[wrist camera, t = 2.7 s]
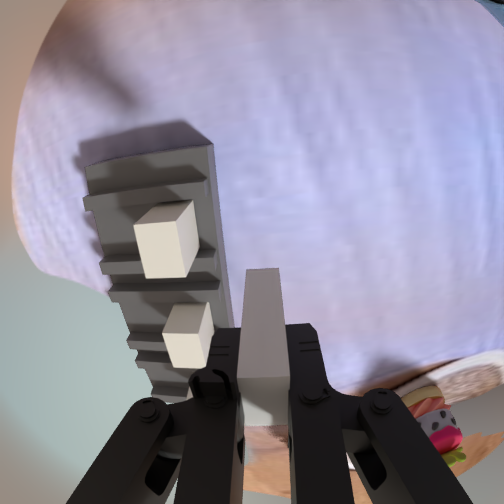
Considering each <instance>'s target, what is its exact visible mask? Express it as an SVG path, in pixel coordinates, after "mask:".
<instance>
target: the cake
mask: <svg viewBox="0 0 504 504" xmlns="http://www.w3.org/2000/svg"><path fill="white" fill-rule="evenodd" d="M401 400H402V401H403V402H404V404H405V405H406V406H407V408H408V409H409V411H410V412H411V413H412V415H413V416H414V418H415V419H416V420H417V422H418V423H419V425H420V426H421V427H422V429H423V430H424V432H425V433H426V435H427V436H428V437H429V439H430V440H431V442H432V443H433V445H434V446H435V447H436V449H437V450H438V452H439V453H440V455H441V456H442V458H443V459H444V461H445V462H446V463H447V465H448V466H449V467H451V466H453V465H454V464H455V462H456V461H458V462H464V461H465V460H466V455H465V454H464V453H461V451H462V450H463V448H462V447H459V448H457V447H458V446H459V444H460V443H461V441H462V438H463V437H462V433H461V431H460V429H459V428H458V427H457V425H456V421H455V419H454V417H453V415H452V414H451V412H450V411H449V409H450V407H451V405H446V404H444V403H445V399H444V397H443V394H442V392H441V390H440V389H439V388H438V387H437V386H426V387H422V388H419V389H416V390H414V391H412V392H410V393H408V394H407V395H405V396H404V397H402V398H401ZM456 448H457V449H456Z"/></svg>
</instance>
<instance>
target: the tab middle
mask: <svg viewBox="0 0 504 504" xmlns="http://www.w3.org/2000/svg"><path fill="white" fill-rule="evenodd" d="M162 335H163V338H164V341H165V344H166V347H167V350H168V353H169V356H170V359H171V362H172V365H173V367H175V368H203V367H206V363H207V358H208V353H209V348H210V343H211V338H212V336H213V335H214V326H213V321H212V316H211V310H210V305H209V302H190V303H174V306H173V308H172V310H171V313H170V315H169V317H168V320H167V322H166V325H165V327H164V329H163V332H162Z"/></svg>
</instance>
